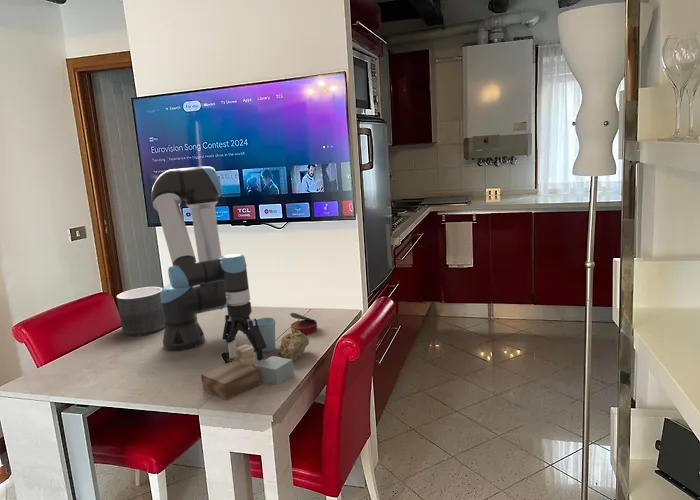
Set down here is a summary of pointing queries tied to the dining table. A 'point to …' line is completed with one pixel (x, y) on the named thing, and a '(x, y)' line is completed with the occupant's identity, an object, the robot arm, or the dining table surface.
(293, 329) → the canned food
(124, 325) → the planter
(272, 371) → the slate block
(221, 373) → the walnut pedestal
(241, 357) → the oak block
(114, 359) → the dining table surface
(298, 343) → the rock
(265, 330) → the cup
